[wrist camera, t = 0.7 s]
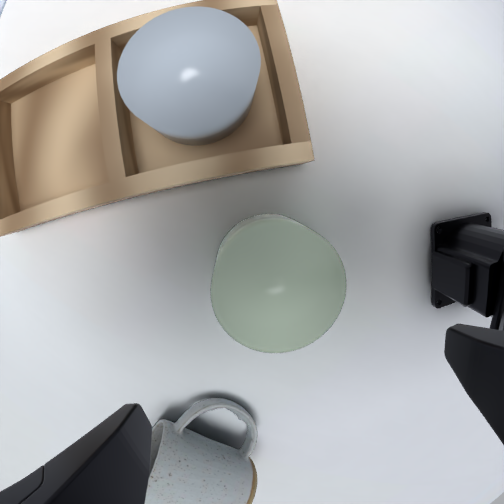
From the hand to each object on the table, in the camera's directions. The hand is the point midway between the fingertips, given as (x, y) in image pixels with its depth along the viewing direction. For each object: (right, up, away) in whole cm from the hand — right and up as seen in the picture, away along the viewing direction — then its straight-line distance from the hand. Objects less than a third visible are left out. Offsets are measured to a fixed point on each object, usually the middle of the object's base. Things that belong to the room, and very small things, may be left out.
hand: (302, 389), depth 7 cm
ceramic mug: (-6, -11, +14) cm, 19 cm away
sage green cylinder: (0, +3, +12) cm, 12 cm away
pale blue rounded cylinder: (-4, +13, +9) cm, 16 cm away
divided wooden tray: (-9, +12, +9) cm, 18 cm away
